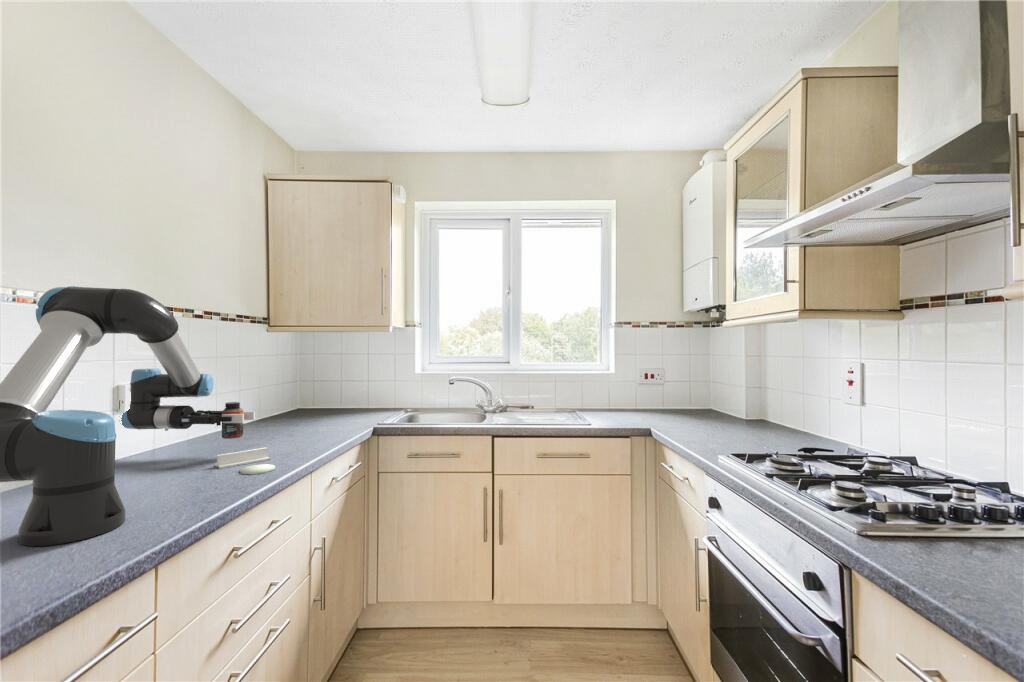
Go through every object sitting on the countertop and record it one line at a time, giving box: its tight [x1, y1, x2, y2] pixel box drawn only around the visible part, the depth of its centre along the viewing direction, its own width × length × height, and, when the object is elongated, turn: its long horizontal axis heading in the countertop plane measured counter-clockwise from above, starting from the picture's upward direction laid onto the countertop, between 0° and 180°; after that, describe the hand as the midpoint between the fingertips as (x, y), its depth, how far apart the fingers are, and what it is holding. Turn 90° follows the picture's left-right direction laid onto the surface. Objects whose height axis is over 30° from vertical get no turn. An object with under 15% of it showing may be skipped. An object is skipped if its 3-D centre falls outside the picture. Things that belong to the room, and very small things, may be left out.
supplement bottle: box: [221, 401, 244, 440], centre depth 146 cm, size 6×6×11 cm
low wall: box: [214, 447, 271, 470], centre depth 140 cm, size 5×14×4 cm, turn 139°
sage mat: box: [239, 463, 276, 476], centre depth 132 cm, size 9×9×1 cm
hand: (248, 417), depth 147 cm, fingers closed on supplement bottle, 6 cm apart
